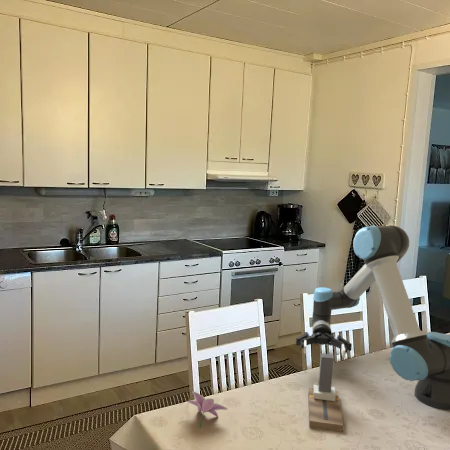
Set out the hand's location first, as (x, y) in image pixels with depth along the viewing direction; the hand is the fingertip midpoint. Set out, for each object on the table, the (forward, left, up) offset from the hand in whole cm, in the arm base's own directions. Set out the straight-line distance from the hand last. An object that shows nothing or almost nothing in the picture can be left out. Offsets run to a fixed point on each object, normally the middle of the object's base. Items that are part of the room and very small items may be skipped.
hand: (324, 352), depth 165 cm
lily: (+36, +31, -14) cm, 50 cm away
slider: (0, +10, -11) cm, 15 cm away
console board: (0, +16, -14) cm, 21 cm away
